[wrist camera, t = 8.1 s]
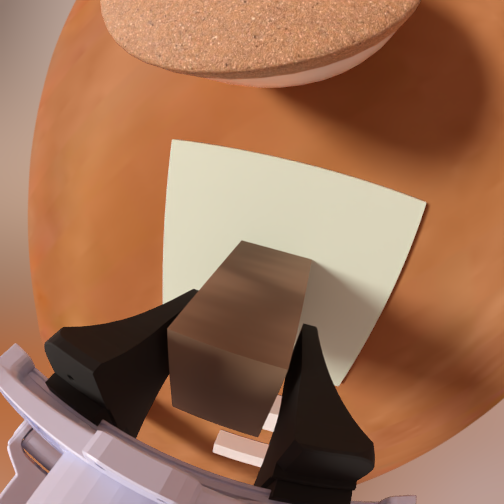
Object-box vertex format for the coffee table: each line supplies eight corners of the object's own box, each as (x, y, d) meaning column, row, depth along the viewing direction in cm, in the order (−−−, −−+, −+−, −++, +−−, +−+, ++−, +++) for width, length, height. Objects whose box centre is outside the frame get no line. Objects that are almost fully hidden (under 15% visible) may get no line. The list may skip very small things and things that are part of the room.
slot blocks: (218, 439, 27) (212, 452, 25) (231, 380, 21) (223, 397, 19) (282, 458, 26) (279, 471, 24) (322, 406, 20) (320, 425, 18)
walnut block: (230, 310, 18) (172, 406, 11) (241, 240, 15) (167, 328, 8) (290, 328, 17) (258, 437, 10) (311, 259, 15) (287, 369, 8)
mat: (166, 326, 21) (163, 329, 20) (175, 139, 15) (172, 139, 14) (338, 382, 18) (338, 386, 18) (424, 201, 12) (426, 202, 12)
